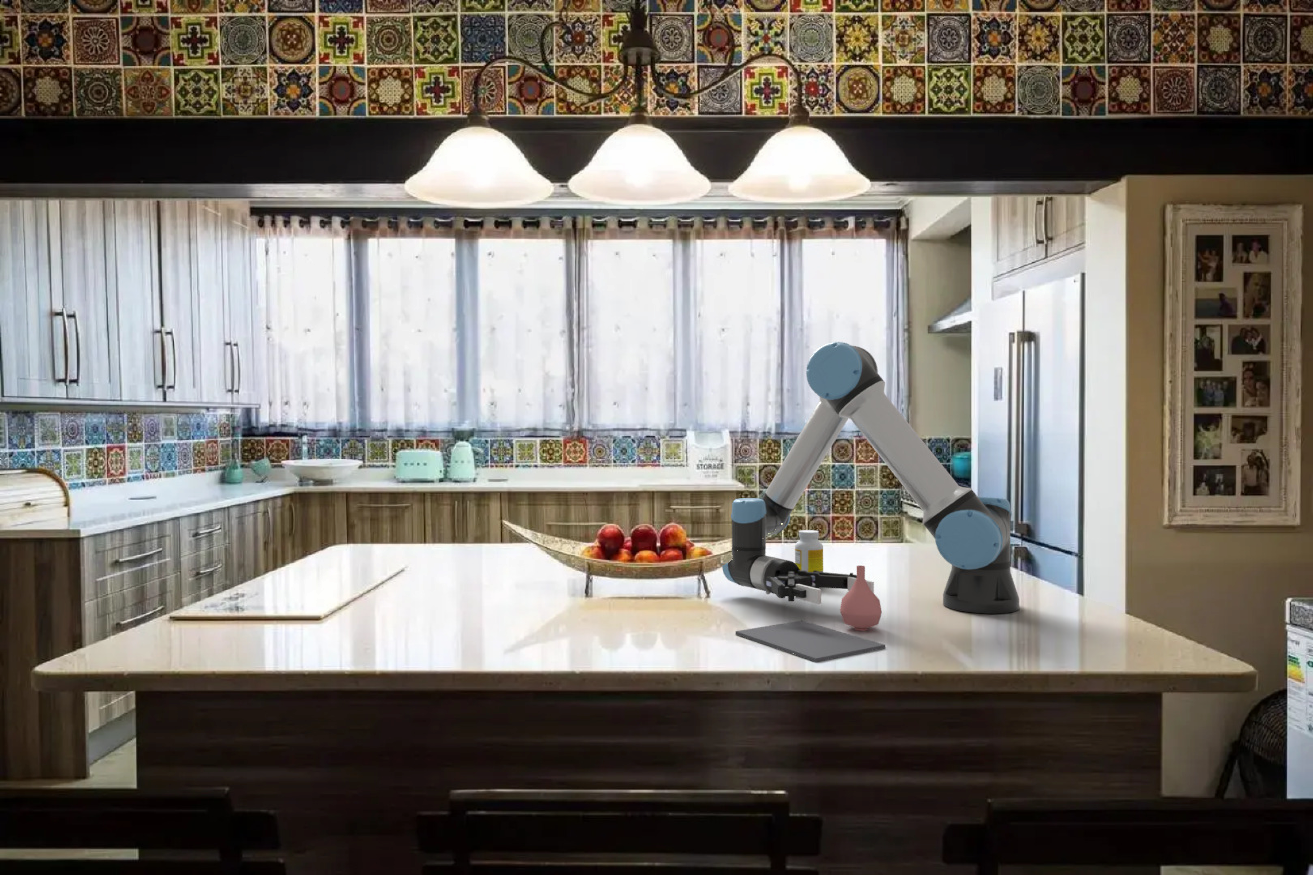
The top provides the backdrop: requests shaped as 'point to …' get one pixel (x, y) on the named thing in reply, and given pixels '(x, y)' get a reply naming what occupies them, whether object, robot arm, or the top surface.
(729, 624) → the top surface
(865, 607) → the pink vase
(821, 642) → the mat
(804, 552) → the supplement bottle
